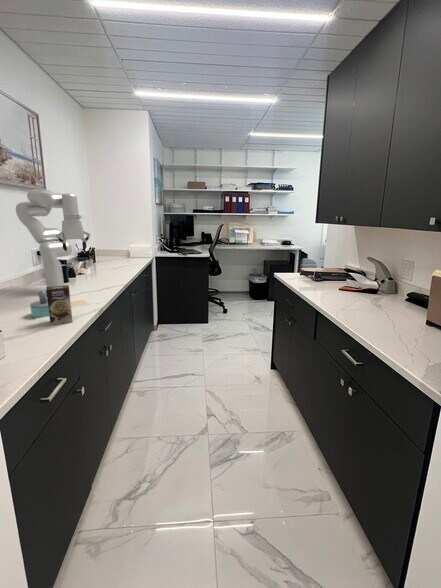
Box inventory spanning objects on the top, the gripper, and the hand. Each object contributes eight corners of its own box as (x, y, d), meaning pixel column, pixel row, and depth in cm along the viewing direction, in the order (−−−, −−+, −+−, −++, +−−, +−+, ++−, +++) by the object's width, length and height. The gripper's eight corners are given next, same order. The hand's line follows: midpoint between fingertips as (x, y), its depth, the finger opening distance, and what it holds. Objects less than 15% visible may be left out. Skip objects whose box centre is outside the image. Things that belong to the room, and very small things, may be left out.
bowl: (30, 313, 150) (29, 304, 149) (55, 309, 157) (54, 300, 156) (34, 319, 142) (32, 309, 141) (60, 315, 148) (58, 305, 147)
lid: (28, 304, 149) (26, 290, 147) (54, 300, 156) (52, 287, 154) (32, 309, 141) (30, 295, 139) (59, 305, 147) (57, 291, 146)
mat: (62, 304, 167) (62, 303, 167) (83, 300, 173) (83, 299, 173) (67, 308, 158) (66, 307, 158) (89, 305, 165) (89, 304, 165)
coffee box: (50, 325, 135) (45, 289, 131) (50, 321, 140) (45, 286, 136) (73, 322, 139) (68, 287, 135) (72, 318, 144) (68, 284, 140)
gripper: (86, 217, 172) (89, 248, 177) (52, 217, 162) (56, 250, 166) (90, 217, 167) (93, 249, 171) (55, 218, 156) (59, 251, 161)
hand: (75, 249), depth 169 cm, fingers open, 9 cm apart
